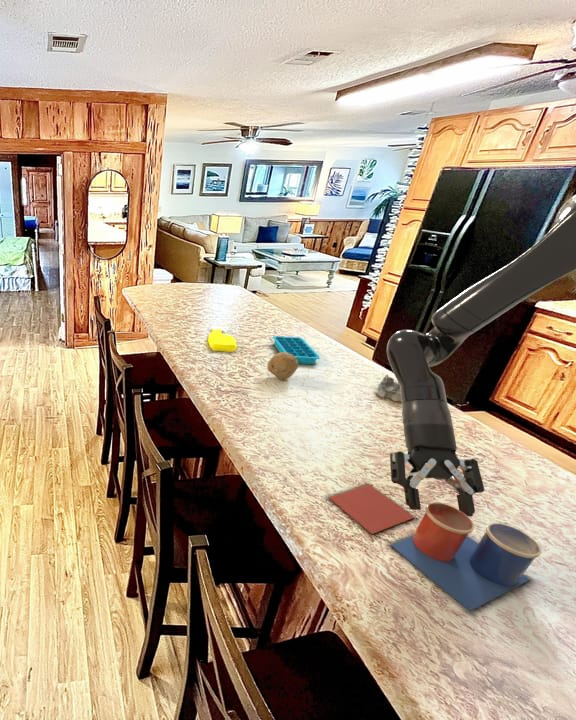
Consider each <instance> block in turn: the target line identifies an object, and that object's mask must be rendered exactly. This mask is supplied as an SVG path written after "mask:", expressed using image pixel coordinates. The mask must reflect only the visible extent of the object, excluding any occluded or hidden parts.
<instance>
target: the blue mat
mask: <svg viewBox="0 0 576 720" xmlns="http://www.w3.org/2000/svg"><path fill="white" fill-rule="evenodd" d="M478 543H479V542H476V541H475V540H473V538H471V537H469V535H468V536H467V538H466V539H465V541H464V543H463V544H462V546H461V548H460V549H459V551H458V553H457V554H456V556H455V558H454V559H453V560H452V561H450V562H443V561H438V560H435V559H433V558H431V557H429V556H427V555H425V554H424V553H423V552H421V551H420V550H419V549H418V548H417V547H416V546H415V544H414V542H413V535H412V536H409V537H407V538H404V539H402V540H399V541H397V542H395V543H392V544H390V547H392V549H394V550H395V551H396V552H398V553H399V554H400V555H401V556H402V557H403V558H405V559H406V560H407V561H409V563H411V564H412V565H413V566H415V567H416V569H418V570H419V571H421V572H422V573H423V575H426V576H427V577H428V578H429V579H430V581H433V582H434V583H435V584H436V585H437V586H439V587H440V588H441V589H442V590H443V591H444V592H445V593H447V594H448V595H449V596H450V597H451V598H453V599H454V600H455V601H456V602H458V603H459V604H460V605H461V606H463V607H464V608H465V609H466V610H468V611H469V612H471V611H473V610H475V609H477V608H479V607H481V606H483V605H485V604H486V603H489V602H490V601H492V600H494V599H496V598H498V597H500V596H502V595H503V594H505V593H507V592H509V591H511V590H513V589H515V588H517V587H518V586H519V587H520V586H521V585H522V584H525V583H526V582H528V581H530V578H529V577H527V576H525V574H523V575H522V577H521V578H520V579H519V581H518V582H517V583H516V585H514V586H503V585H499V584H496V583H494V582H492V581H490V580H488V579H486V578H485V577H483V576H482V575H481V574H479V573H478V572H477V571H476V570H475V569H474V568H473V567H472V565H471V563H470V560H469V559H470V556H471V555H472V553H473V551H474V550H475V548H476V547H477V545H478Z"/></svg>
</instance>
